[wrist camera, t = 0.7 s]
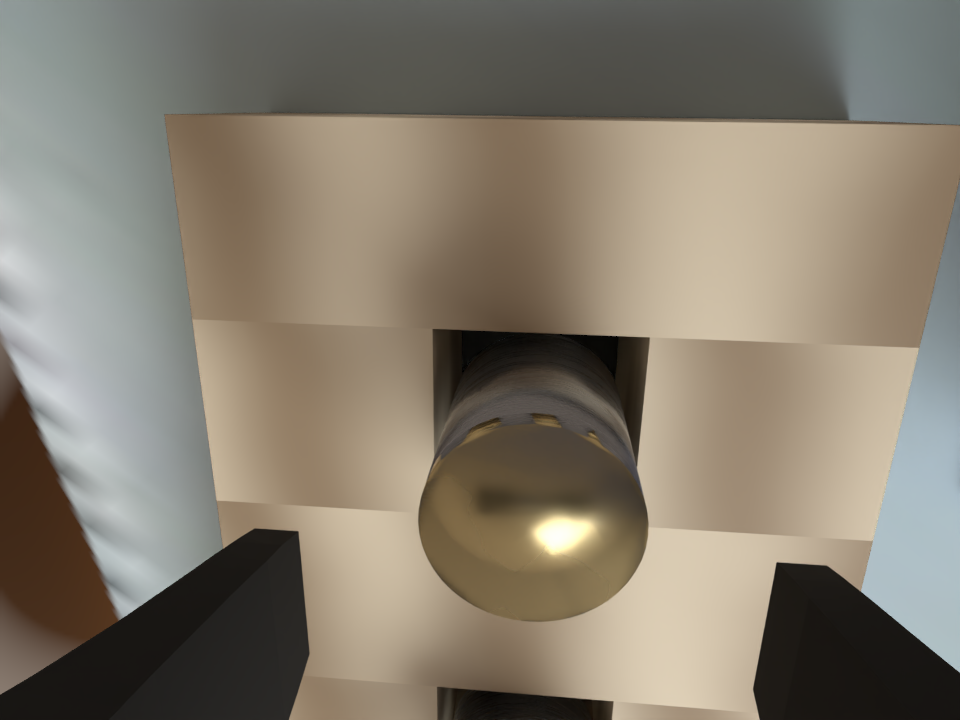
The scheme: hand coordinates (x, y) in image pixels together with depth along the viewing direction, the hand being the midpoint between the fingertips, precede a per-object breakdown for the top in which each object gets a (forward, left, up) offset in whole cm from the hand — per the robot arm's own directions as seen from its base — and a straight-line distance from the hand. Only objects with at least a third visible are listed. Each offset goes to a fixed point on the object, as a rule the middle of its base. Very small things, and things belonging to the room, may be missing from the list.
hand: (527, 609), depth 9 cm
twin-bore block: (0, +4, -10) cm, 11 cm away
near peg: (0, 0, -6) cm, 6 cm away
